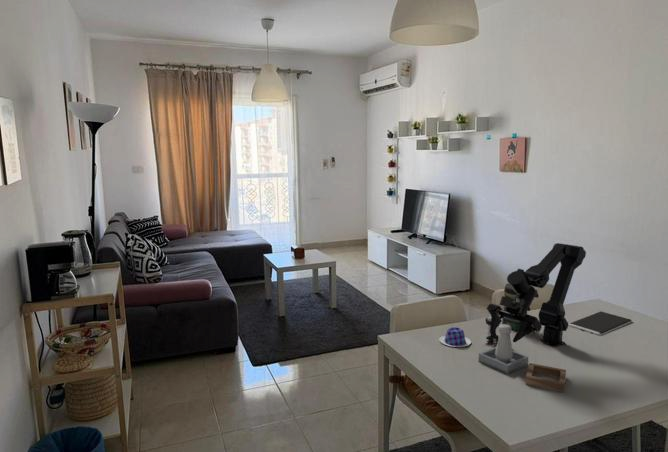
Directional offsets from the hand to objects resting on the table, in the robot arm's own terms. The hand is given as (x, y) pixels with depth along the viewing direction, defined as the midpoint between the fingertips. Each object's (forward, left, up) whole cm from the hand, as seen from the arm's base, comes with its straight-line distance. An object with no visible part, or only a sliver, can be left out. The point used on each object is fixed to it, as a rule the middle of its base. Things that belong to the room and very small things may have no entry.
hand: (501, 337), depth 157 cm
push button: (-9, -16, -10) cm, 21 cm away
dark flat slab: (-65, -14, -11) cm, 68 cm away
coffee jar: (-29, -25, -10) cm, 40 cm away
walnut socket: (-5, +15, -10) cm, 18 cm away
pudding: (+3, -22, -10) cm, 25 cm away
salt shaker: (-2, 0, -9) cm, 9 cm away
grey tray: (-1, 0, -10) cm, 10 cm away
